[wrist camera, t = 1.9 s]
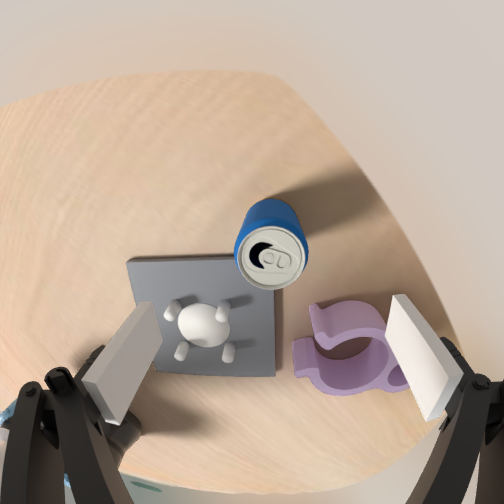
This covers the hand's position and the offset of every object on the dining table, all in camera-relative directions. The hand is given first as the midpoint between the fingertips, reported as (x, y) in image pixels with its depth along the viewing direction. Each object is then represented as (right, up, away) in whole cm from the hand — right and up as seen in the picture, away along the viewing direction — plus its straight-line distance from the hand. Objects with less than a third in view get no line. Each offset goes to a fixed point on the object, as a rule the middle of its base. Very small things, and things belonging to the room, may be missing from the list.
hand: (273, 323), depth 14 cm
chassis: (-8, -6, +26) cm, 27 cm away
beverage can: (+1, +7, +20) cm, 22 cm away
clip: (+15, -10, +26) cm, 31 cm away
